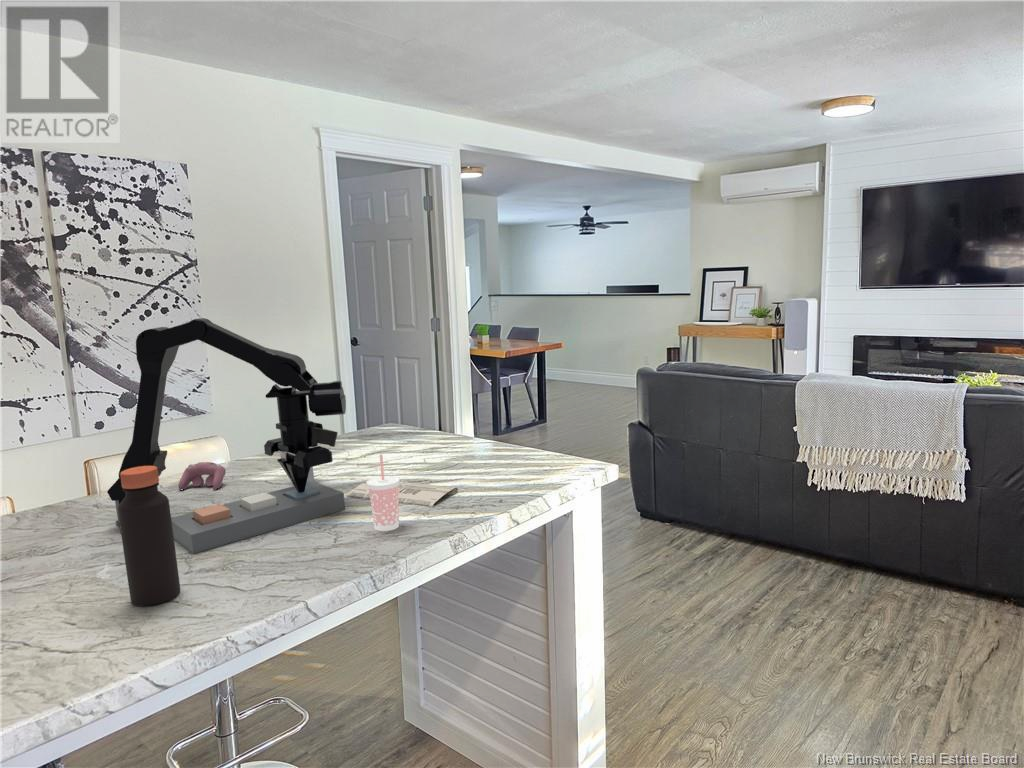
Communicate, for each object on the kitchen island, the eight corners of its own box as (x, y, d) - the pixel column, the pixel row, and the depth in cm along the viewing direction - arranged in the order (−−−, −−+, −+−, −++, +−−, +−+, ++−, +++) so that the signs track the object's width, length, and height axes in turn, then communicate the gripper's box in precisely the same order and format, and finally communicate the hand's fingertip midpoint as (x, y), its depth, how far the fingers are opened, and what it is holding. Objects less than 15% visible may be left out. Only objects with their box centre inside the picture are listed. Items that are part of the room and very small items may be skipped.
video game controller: (226, 492, 164) (229, 463, 166) (216, 489, 159) (219, 459, 161) (186, 493, 165) (190, 464, 167) (175, 490, 160) (179, 460, 162)
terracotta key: (204, 532, 127) (202, 516, 127) (194, 525, 131) (192, 510, 130) (231, 524, 130) (229, 509, 130) (221, 518, 134) (219, 503, 134)
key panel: (193, 553, 122) (191, 535, 122) (169, 536, 132) (167, 518, 131) (345, 509, 142) (343, 492, 142) (315, 496, 152) (313, 481, 151)
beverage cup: (367, 524, 133) (361, 453, 130) (399, 518, 135) (394, 448, 133) (373, 534, 127) (367, 460, 125) (406, 529, 129) (400, 456, 127)
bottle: (125, 598, 106) (106, 471, 103) (171, 583, 110) (155, 461, 107) (139, 612, 101) (120, 479, 98) (187, 595, 105) (170, 468, 102)
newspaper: (462, 492, 152) (461, 481, 151) (433, 515, 141) (432, 504, 141) (377, 482, 162) (375, 472, 161) (344, 504, 151) (342, 493, 150)
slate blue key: (297, 511, 139) (295, 497, 139) (285, 506, 143) (284, 492, 142) (319, 505, 143) (318, 491, 142) (308, 500, 146) (307, 486, 146)
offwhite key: (252, 518, 133) (250, 503, 133) (242, 513, 137) (240, 498, 136) (277, 511, 136) (275, 497, 136) (266, 506, 140) (265, 492, 140)
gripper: (352, 416, 138) (359, 491, 141) (309, 406, 152) (315, 475, 154) (300, 426, 131) (308, 505, 133) (259, 415, 145) (267, 487, 147)
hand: (301, 492), depth 142 cm, fingers closed, pressing on slate blue key
